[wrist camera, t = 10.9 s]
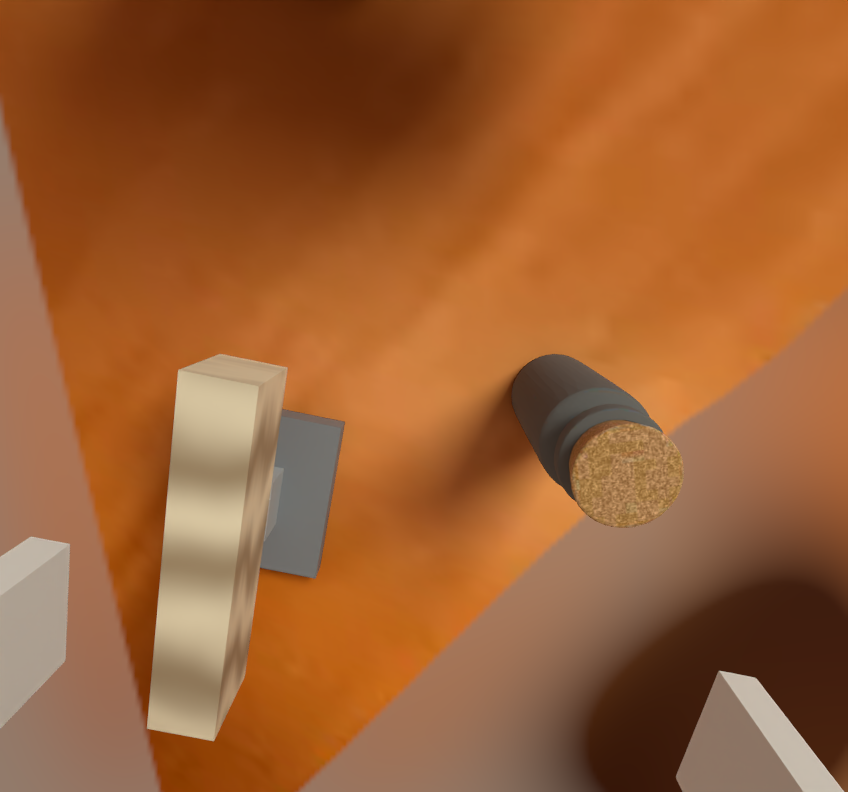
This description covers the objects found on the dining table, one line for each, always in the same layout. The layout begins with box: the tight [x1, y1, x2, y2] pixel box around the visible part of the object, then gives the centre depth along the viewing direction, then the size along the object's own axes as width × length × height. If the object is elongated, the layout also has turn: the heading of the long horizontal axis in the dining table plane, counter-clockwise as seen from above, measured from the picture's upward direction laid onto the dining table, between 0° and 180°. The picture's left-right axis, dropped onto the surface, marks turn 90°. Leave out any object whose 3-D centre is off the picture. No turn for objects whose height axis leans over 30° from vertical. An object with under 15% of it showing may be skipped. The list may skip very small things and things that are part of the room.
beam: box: [147, 354, 288, 741], centre depth 30 cm, size 22×4×5 cm, turn 169°
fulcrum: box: [260, 409, 345, 578], centre depth 36 cm, size 12×10×6 cm
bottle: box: [512, 354, 684, 528], centre depth 29 cm, size 6×6×15 cm
